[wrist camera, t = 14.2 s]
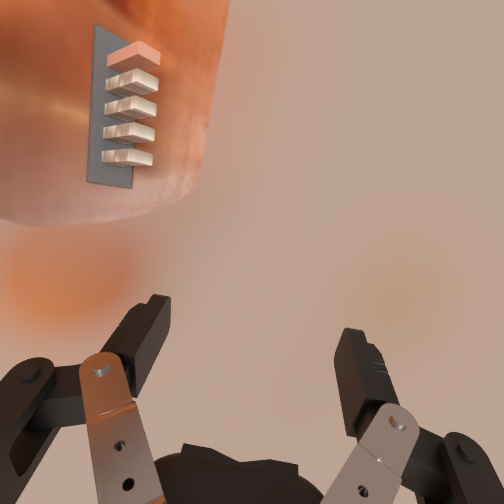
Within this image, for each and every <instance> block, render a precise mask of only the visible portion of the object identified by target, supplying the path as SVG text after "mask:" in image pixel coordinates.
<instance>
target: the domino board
mask: <svg viewBox="0 0 504 504" xmlns="http://www.w3.org/2000/svg"><path fill="white" fill-rule="evenodd" d="M130 44H131V43H129V42H127V41H126V40H124V39H122V38H120V37H118V36H117V35H115V34H113V33H111V32H110V31H108V30H106V29H104V28H102V27H101V26H99V25H97V24H96V25H94V37H93V57H92V78H91V99H90V120H89V141H88V162H87V182H91V183H97V184H104V185H110V186H117V187H123V188H131V184H132V168H133V166H117V165H113V164H108V163H103V162H102V151H109V150H120V149H131V148H132V149H134V143H131V144H121V143H117V142H113V141H110V140H106V139H103V130H104V127H109V126H114V125H120V124H125V123H131V122H135V121H136V120H133V121H128V122H123V121H120V120H117V119H114V118H111V117H108V116H105V115H104V111H105V104H106V103H109V102H113V101H117V100H120V99H124V98H121V97H119V96H116V95H114V94H111V93H109V92H106V79H109V78H112V77H114V76H117V75H120V74H121V73H119V72H117V71H115V70H113V69H110V68H108V67H107V55H109V54H111V53H113V52H115V51H117V50H119V49H122V48H124V47H126V46H128V45H130Z"/></svg>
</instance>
